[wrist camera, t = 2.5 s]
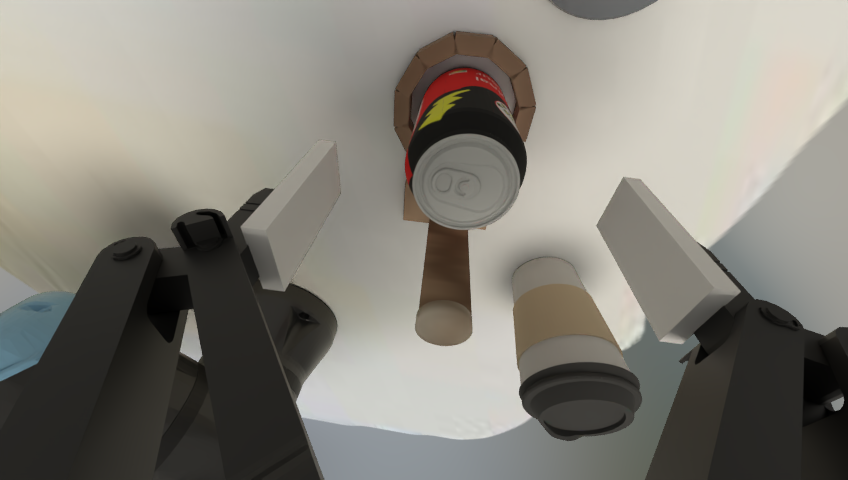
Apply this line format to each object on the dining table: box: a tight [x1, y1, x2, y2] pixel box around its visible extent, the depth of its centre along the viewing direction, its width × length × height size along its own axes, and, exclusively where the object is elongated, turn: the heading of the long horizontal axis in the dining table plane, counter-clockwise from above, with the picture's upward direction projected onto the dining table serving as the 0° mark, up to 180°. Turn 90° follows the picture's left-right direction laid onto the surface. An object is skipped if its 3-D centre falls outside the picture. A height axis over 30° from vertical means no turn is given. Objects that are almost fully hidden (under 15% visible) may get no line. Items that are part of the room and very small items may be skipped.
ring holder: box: [394, 31, 536, 346], centre depth 20 cm, size 10×16×15 cm, turn 175°
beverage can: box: [405, 68, 527, 230], centre depth 20 cm, size 6×6×12 cm
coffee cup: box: [512, 257, 642, 441], centre depth 29 cm, size 9×9×15 cm
